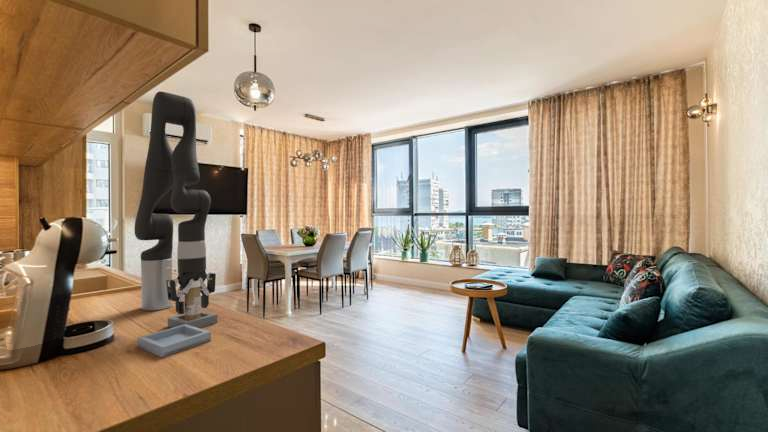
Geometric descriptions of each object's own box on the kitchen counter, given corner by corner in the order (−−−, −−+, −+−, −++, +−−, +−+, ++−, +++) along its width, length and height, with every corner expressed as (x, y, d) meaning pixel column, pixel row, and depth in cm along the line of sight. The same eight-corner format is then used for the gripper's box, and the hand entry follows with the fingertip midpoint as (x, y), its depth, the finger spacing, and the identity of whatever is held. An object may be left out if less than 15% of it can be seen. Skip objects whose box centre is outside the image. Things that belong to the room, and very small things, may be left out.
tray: (137, 347, 87) (137, 337, 87) (185, 332, 98) (185, 324, 98) (162, 357, 81) (162, 347, 81) (210, 340, 91) (210, 331, 91)
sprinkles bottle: (180, 325, 103) (180, 281, 103) (193, 321, 107) (193, 278, 107) (192, 327, 102) (191, 282, 101) (205, 322, 106) (204, 279, 106)
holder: (167, 326, 103) (167, 317, 103) (199, 317, 111) (199, 309, 111) (185, 332, 98) (185, 323, 98) (217, 322, 106) (217, 314, 106)
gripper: (207, 252, 112) (208, 303, 112) (159, 257, 100) (160, 315, 100) (221, 253, 108) (222, 306, 109) (174, 259, 96) (174, 319, 96)
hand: (192, 310), depth 104 cm, fingers open, 6 cm apart
